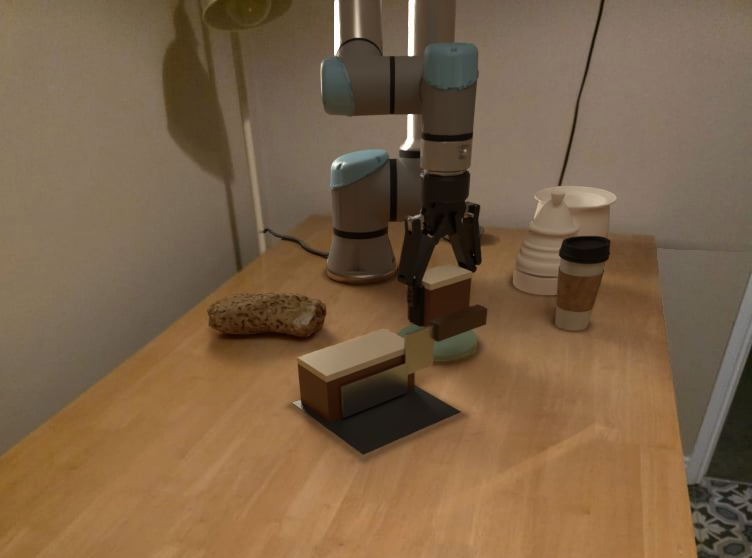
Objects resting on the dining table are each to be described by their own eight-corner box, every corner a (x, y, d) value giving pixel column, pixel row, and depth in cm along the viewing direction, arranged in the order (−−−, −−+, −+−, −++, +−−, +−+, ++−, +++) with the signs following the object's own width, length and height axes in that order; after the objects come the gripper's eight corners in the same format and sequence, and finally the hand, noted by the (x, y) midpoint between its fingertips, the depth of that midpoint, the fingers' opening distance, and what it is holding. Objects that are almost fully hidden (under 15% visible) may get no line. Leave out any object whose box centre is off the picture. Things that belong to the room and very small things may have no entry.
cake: (329, 423, 96) (326, 376, 91) (300, 403, 100) (296, 357, 96) (414, 389, 103) (415, 344, 98) (384, 371, 108) (384, 327, 103)
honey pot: (577, 296, 133) (595, 200, 121) (512, 293, 135) (523, 198, 123) (573, 274, 142) (589, 182, 131) (512, 271, 144) (523, 181, 133)
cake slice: (407, 319, 113) (408, 274, 108) (446, 306, 117) (449, 263, 112) (428, 329, 109) (430, 284, 105) (468, 315, 113) (472, 271, 109)
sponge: (328, 328, 126) (233, 295, 128) (331, 292, 120) (231, 259, 122) (300, 369, 118) (199, 334, 121) (301, 333, 112) (195, 297, 114)
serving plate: (380, 343, 118) (380, 335, 117) (439, 322, 124) (439, 314, 123) (433, 371, 109) (433, 363, 108) (493, 347, 115) (494, 339, 114)
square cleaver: (346, 420, 95) (344, 358, 89) (338, 414, 97) (334, 352, 91) (482, 366, 108) (487, 308, 102) (472, 361, 109) (477, 304, 103)
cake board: (292, 406, 101) (291, 402, 100) (385, 371, 109) (385, 368, 109) (363, 458, 90) (363, 454, 89) (461, 415, 98) (461, 411, 97)
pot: (538, 235, 164) (545, 181, 156) (611, 242, 159) (622, 187, 151) (518, 263, 148) (525, 204, 141) (597, 272, 143) (609, 212, 135)
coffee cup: (596, 335, 118) (614, 248, 109) (547, 332, 120) (561, 246, 110) (593, 316, 125) (610, 233, 115) (547, 314, 126) (560, 231, 117)
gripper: (405, 186, 91) (402, 340, 106) (514, 163, 102) (499, 307, 116) (371, 177, 96) (373, 325, 110) (480, 156, 106) (469, 294, 120)
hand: (438, 316), depth 113 cm, fingers closed on cake slice, 9 cm apart
